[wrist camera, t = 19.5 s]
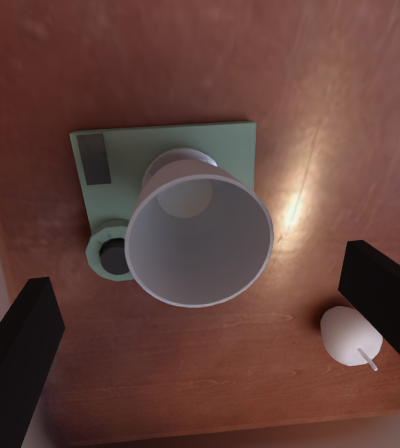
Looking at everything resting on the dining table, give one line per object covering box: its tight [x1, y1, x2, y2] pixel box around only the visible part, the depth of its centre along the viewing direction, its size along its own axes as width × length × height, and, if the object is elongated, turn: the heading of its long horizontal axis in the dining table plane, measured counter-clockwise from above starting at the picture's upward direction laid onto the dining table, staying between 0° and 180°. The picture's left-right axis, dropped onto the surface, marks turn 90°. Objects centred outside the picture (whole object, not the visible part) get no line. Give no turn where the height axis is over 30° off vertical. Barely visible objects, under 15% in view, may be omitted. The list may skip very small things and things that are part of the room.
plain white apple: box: [320, 306, 382, 371], centre depth 36 cm, size 7×7×8 cm
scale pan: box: [76, 134, 219, 189], centre depth 24 cm, size 12×9×1 cm
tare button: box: [101, 240, 130, 275], centre depth 27 cm, size 3×3×2 cm
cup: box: [125, 159, 274, 308], centre depth 20 cm, size 8×8×10 cm
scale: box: [69, 121, 256, 281], centre depth 27 cm, size 16×14×4 cm
